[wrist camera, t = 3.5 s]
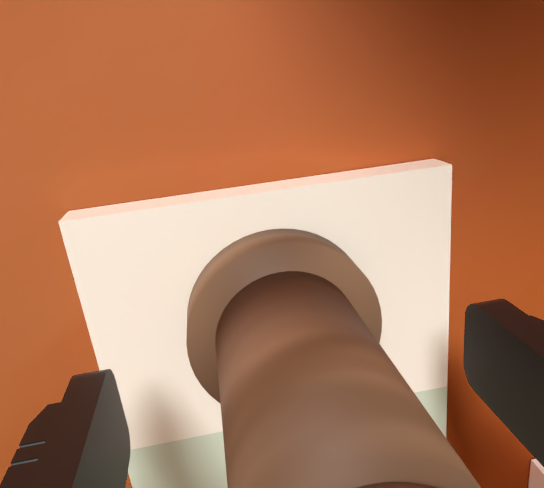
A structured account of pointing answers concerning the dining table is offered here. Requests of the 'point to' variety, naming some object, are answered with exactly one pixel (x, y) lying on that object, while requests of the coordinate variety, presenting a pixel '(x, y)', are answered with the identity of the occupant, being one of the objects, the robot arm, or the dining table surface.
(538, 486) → the die
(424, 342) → the game board
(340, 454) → the pawn
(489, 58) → the dining table surface
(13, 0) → the dining table surface
